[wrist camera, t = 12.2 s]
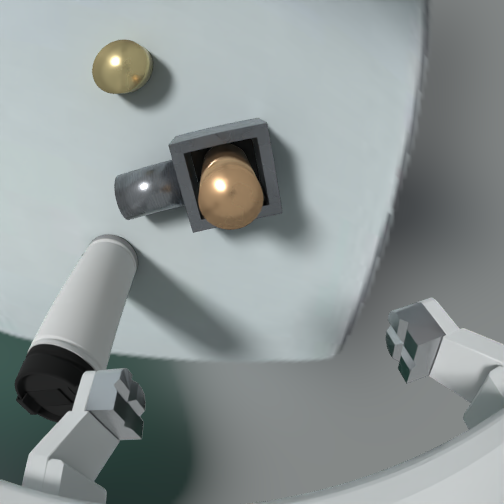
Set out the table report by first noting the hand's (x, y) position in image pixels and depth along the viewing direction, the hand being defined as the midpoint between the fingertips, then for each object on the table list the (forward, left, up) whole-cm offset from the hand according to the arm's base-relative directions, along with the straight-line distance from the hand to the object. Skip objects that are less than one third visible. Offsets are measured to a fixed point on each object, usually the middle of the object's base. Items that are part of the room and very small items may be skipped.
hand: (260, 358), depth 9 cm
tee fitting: (0, -3, -24) cm, 24 cm away
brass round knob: (-12, -7, -24) cm, 28 cm away
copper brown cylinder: (0, 0, -24) cm, 24 cm away
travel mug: (+7, -15, -24) cm, 29 cm away
